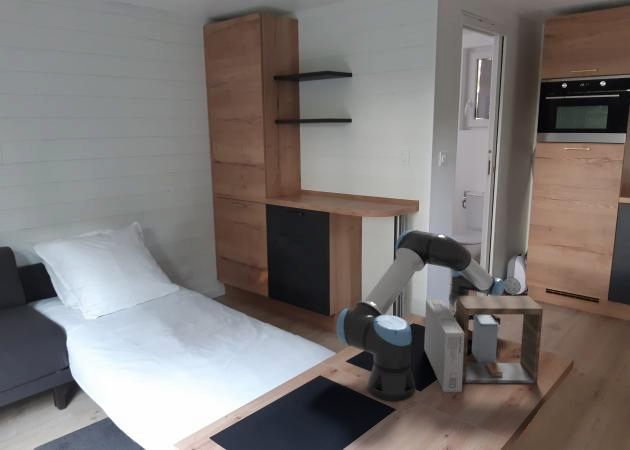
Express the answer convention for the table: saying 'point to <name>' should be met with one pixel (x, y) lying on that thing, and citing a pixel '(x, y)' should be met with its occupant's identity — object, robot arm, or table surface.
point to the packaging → (444, 345)
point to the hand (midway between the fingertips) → (480, 329)
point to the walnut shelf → (529, 346)
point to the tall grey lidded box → (484, 338)
